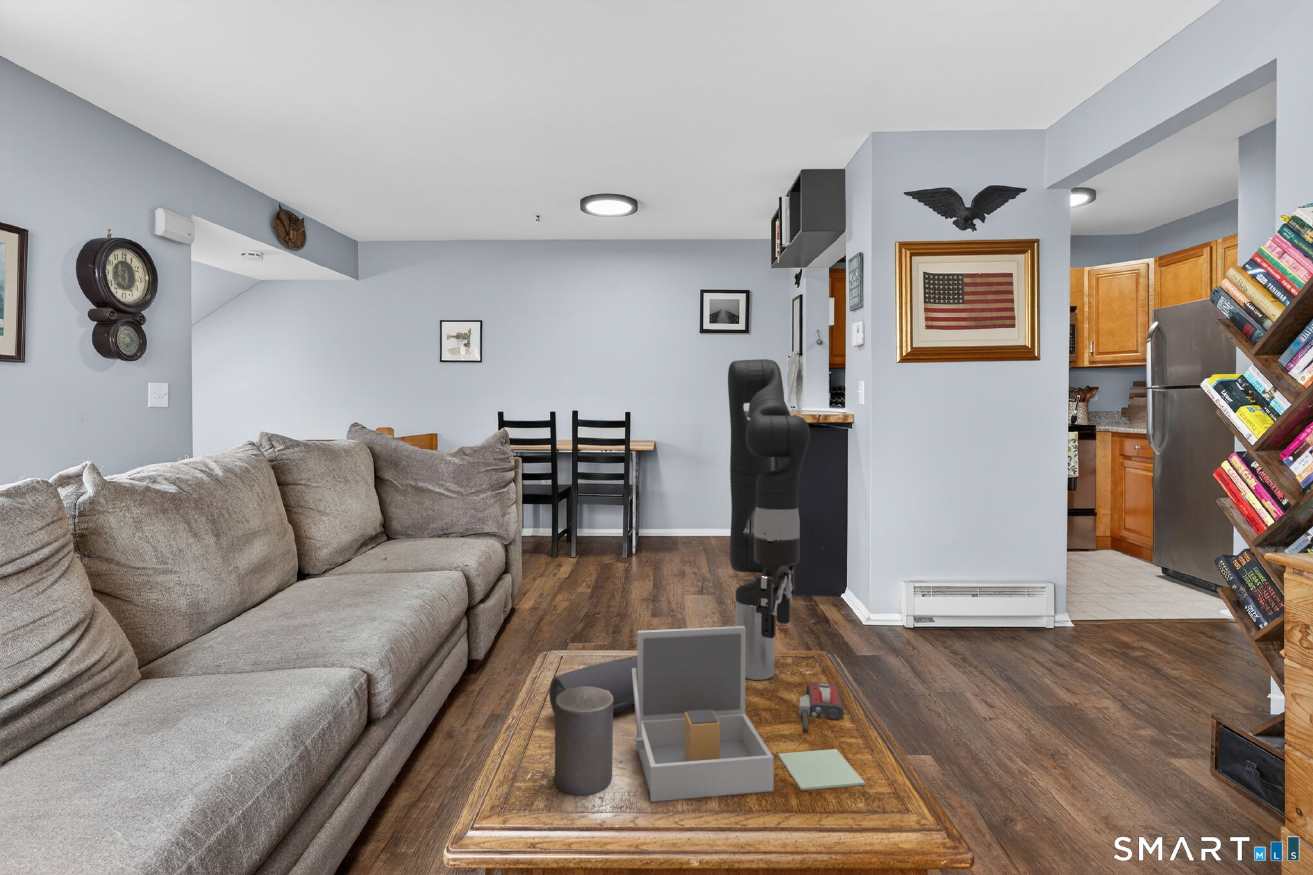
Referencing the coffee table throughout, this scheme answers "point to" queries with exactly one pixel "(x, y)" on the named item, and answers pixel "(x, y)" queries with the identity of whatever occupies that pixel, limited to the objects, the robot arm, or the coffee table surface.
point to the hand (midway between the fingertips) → (776, 629)
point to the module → (702, 735)
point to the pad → (820, 769)
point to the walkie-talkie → (821, 702)
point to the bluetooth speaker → (600, 681)
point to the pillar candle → (583, 740)
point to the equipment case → (689, 679)
